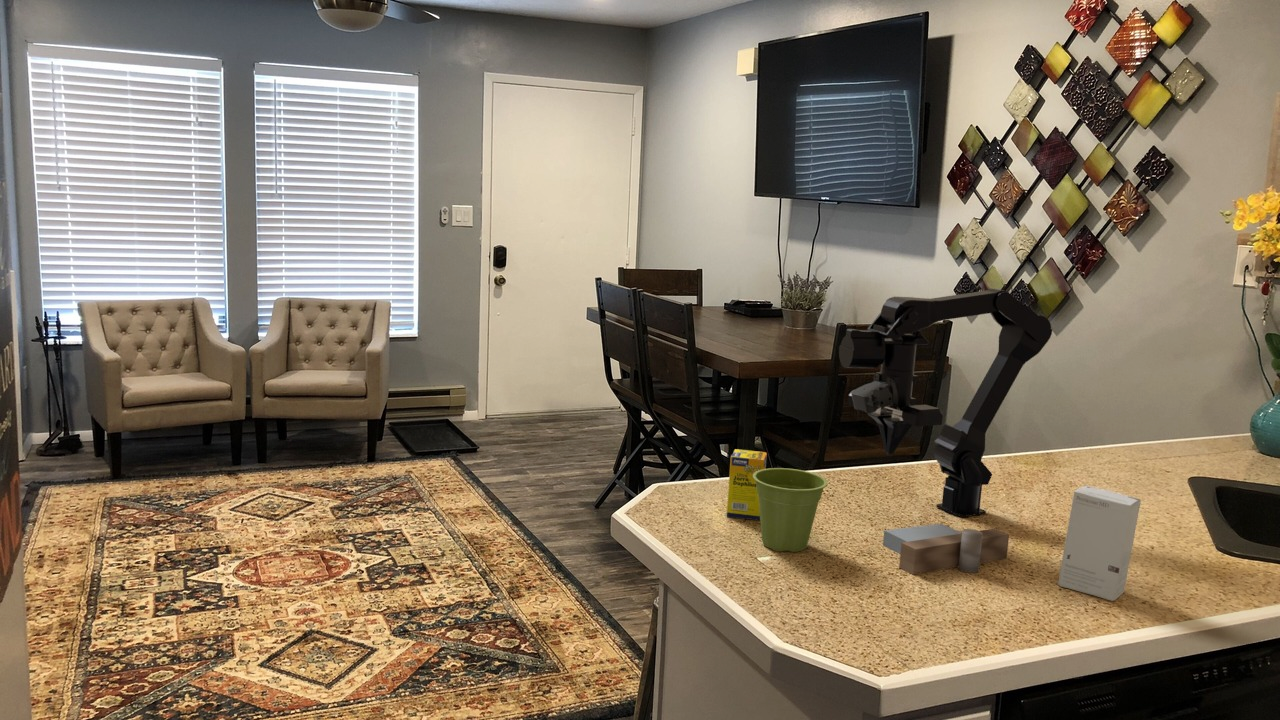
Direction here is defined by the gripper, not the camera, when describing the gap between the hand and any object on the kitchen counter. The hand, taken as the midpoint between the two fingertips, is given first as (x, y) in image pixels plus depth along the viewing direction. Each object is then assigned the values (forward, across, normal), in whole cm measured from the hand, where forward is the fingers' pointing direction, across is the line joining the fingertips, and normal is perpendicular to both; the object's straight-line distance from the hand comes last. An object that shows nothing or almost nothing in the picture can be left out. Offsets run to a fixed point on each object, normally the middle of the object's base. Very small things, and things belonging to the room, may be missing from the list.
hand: (889, 453), depth 178 cm
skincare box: (+11, +40, +5) cm, 42 cm away
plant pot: (+11, +8, -28) cm, 31 cm away
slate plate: (+12, +18, -6) cm, 22 cm away
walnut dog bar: (+11, +26, -7) cm, 29 cm away
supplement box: (+11, -8, -25) cm, 29 cm away
